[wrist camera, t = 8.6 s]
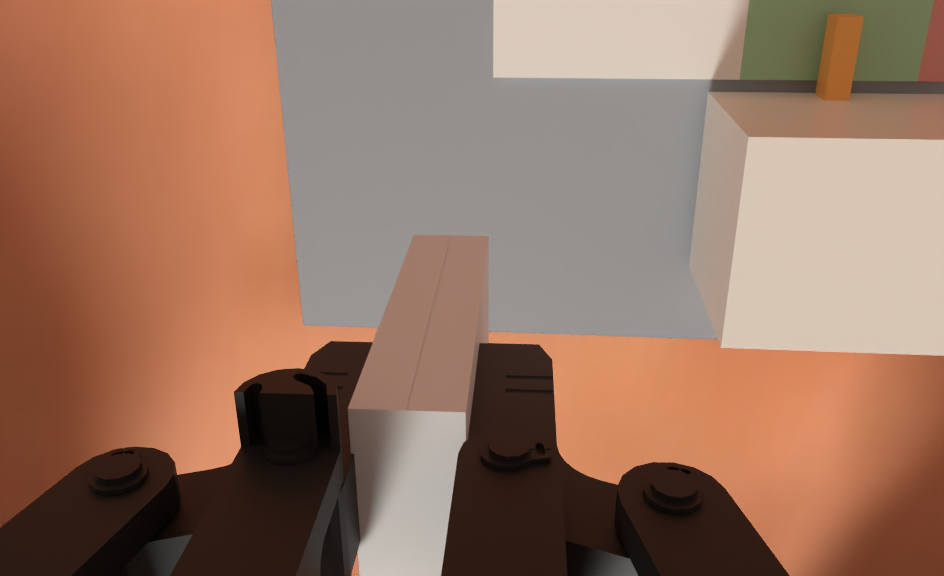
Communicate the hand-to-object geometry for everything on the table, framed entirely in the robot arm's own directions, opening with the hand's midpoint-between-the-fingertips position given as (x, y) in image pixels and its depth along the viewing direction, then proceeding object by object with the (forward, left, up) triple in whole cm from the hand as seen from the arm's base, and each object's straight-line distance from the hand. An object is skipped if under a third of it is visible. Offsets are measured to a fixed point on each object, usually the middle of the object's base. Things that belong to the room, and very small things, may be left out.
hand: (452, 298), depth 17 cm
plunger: (+13, +1, -7) cm, 15 cm away
